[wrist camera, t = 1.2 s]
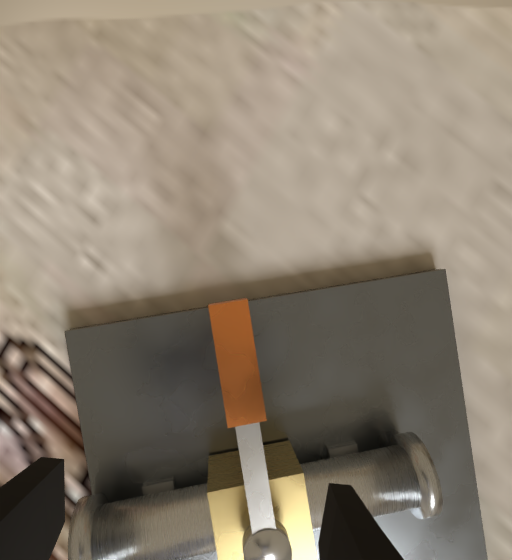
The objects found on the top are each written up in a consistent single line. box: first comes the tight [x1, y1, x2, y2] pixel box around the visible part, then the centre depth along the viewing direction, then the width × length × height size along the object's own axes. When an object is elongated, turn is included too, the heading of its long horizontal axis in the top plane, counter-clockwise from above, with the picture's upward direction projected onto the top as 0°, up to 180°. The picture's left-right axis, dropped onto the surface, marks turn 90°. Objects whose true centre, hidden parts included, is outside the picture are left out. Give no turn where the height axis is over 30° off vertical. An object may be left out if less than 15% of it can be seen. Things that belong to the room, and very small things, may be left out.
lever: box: [208, 298, 292, 560], centre depth 18 cm, size 12×2×1 cm, turn 9°
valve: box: [65, 269, 488, 560], centre depth 21 cm, size 21×18×6 cm
